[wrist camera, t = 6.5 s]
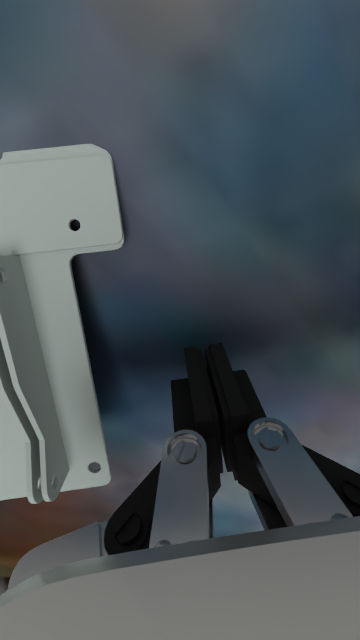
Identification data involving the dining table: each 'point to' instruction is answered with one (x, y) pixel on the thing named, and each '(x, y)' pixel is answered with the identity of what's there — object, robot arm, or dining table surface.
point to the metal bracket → (50, 318)
